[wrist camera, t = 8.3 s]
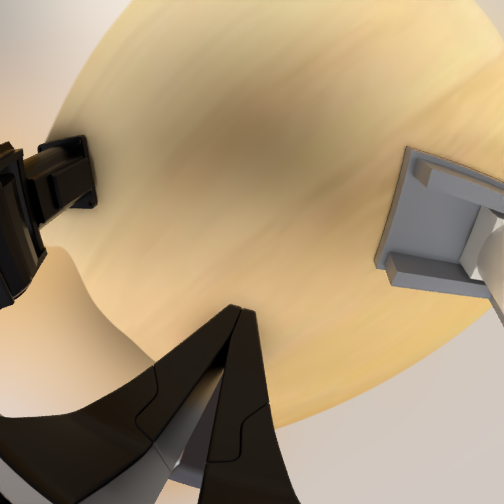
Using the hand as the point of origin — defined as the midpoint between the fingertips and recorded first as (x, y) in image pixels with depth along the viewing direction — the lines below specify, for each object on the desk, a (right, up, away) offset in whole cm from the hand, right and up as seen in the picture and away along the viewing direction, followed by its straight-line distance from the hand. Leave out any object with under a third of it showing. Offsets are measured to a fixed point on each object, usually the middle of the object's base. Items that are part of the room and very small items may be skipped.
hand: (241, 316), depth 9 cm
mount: (+15, +4, +8) cm, 18 cm away
